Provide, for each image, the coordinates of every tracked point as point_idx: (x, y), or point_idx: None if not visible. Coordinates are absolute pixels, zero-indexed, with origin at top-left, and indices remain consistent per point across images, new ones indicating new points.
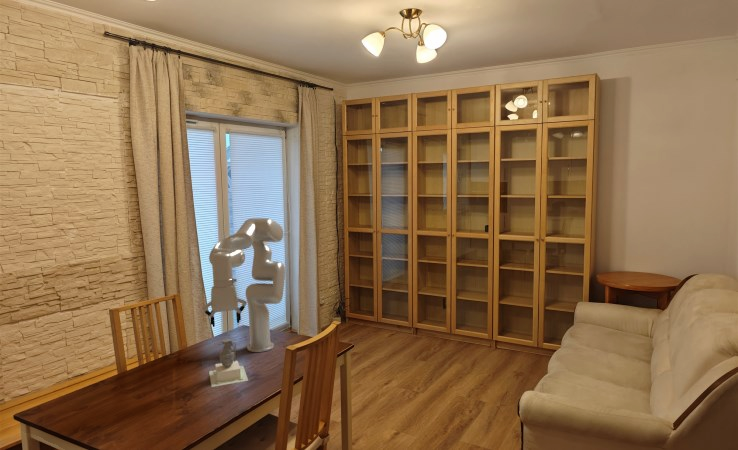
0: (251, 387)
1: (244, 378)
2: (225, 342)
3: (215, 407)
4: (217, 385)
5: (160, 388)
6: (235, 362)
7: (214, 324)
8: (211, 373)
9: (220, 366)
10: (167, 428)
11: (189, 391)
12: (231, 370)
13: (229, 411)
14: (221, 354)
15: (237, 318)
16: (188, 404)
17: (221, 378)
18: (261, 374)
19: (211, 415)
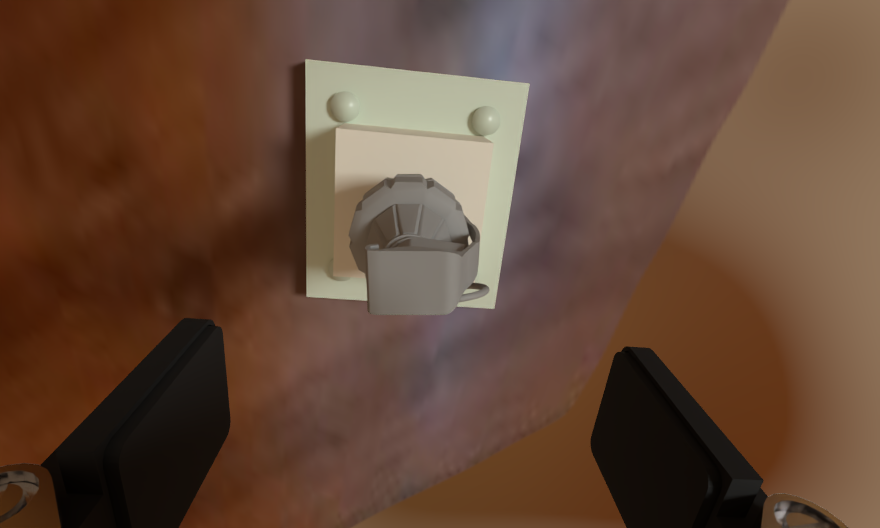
0: (493, 339)
1: (483, 276)
2: (395, 311)
3: (314, 439)
4: (337, 293)
5: (16, 121)
6: (471, 171)
7: (213, 454)
8: (318, 109)
9: (365, 190)
10: None
11: (196, 243)
12: None
13: (362, 484)
14: (361, 266)
15: (622, 516)
16: None
17: None
18: (587, 220)
19: (294, 485)
